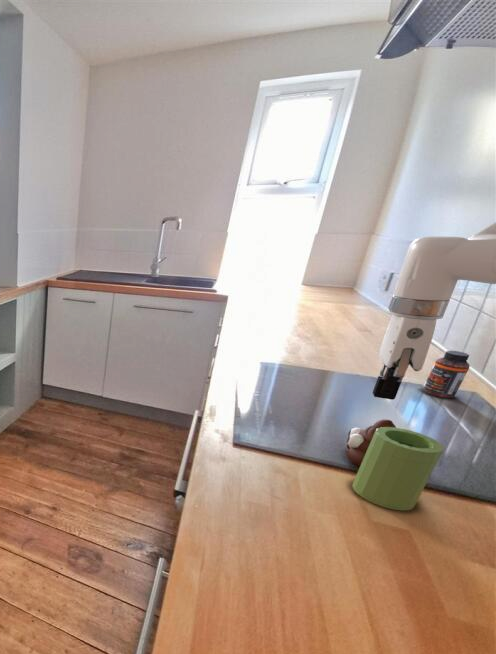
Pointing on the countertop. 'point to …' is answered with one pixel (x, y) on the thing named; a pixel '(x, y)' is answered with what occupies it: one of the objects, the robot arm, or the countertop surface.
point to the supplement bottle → (447, 374)
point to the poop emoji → (362, 441)
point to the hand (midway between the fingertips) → (383, 396)
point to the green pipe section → (396, 467)
